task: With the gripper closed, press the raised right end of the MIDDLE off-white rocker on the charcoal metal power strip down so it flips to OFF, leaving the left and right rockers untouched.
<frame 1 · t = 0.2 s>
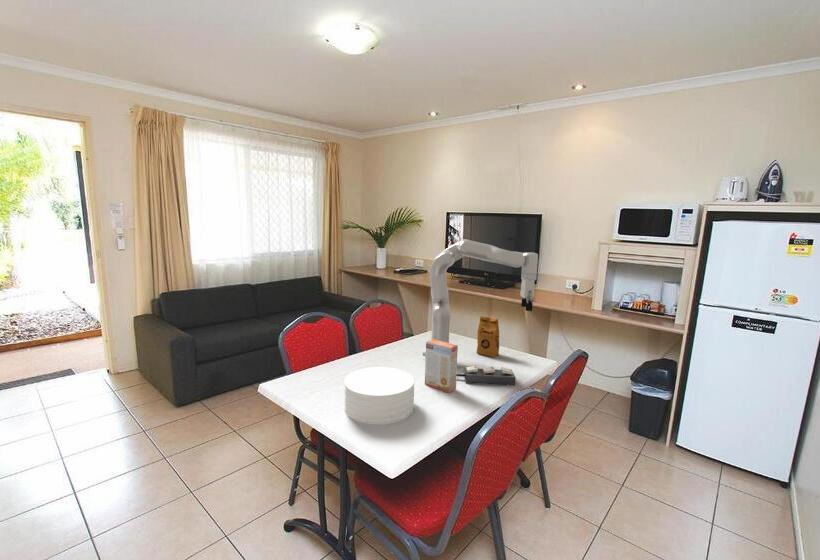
hand: (526, 308, 202), 31 cm above the table, fingers open, 9 cm apart
rocker right: (507, 370, 184), point 5 cm above the table, hinge at 12.0°, touching power strip
power strip: (488, 380, 185), on the table
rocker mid: (488, 369, 184), point 5 cm above the table, hinge at -12.0°, touching power strip
coffee package: (487, 354, 222), on the table
cracker box: (440, 387, 177), on the table
plate stack: (379, 407, 156), on the table
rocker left: (472, 368, 185), point 5 cm above the table, hinge at -12.0°, touching power strip
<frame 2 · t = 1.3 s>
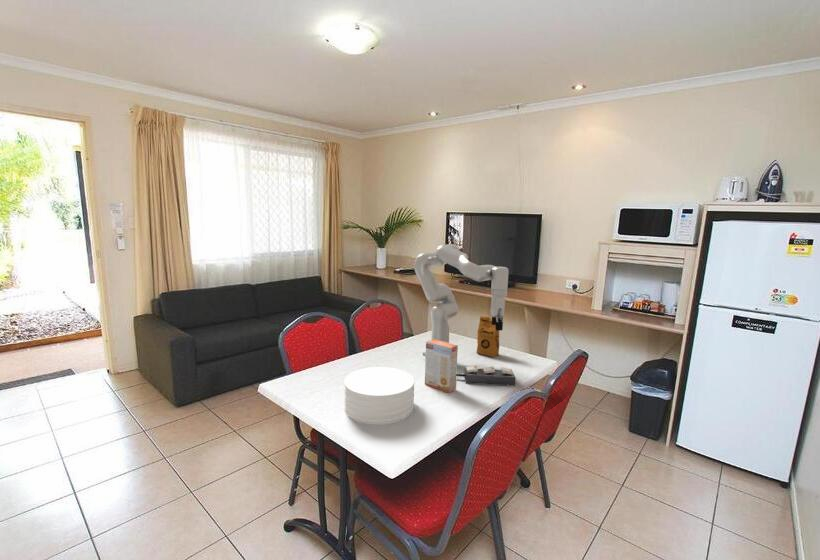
hand: (496, 327, 186), 25 cm above the table, fingers open, 9 cm apart
nothing on the table moved.
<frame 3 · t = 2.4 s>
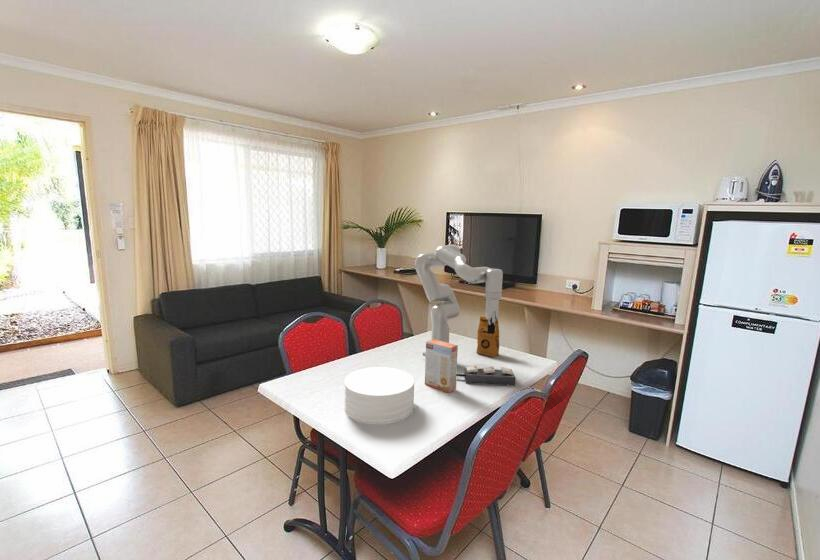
hand: (491, 332, 184), 23 cm above the table, fingers closed
nothing on the table moved.
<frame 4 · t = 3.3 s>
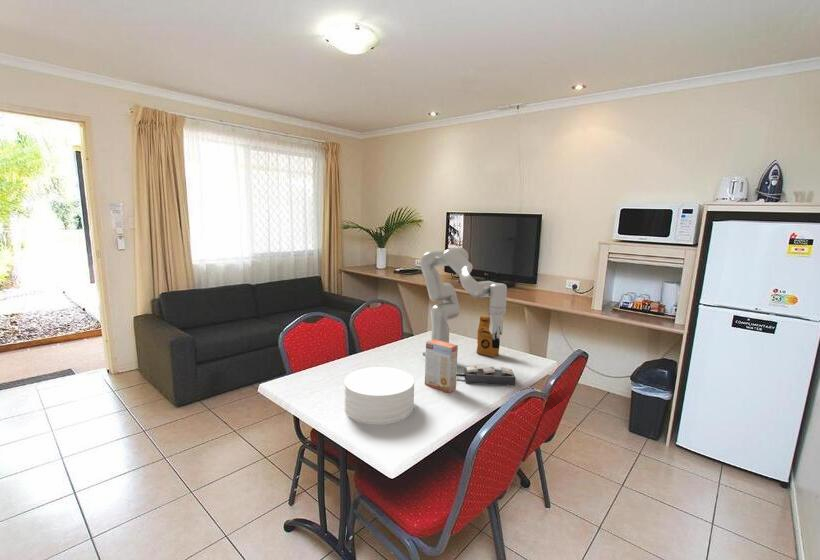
hand: (495, 347, 182), 17 cm above the table, fingers closed
nothing on the table moved.
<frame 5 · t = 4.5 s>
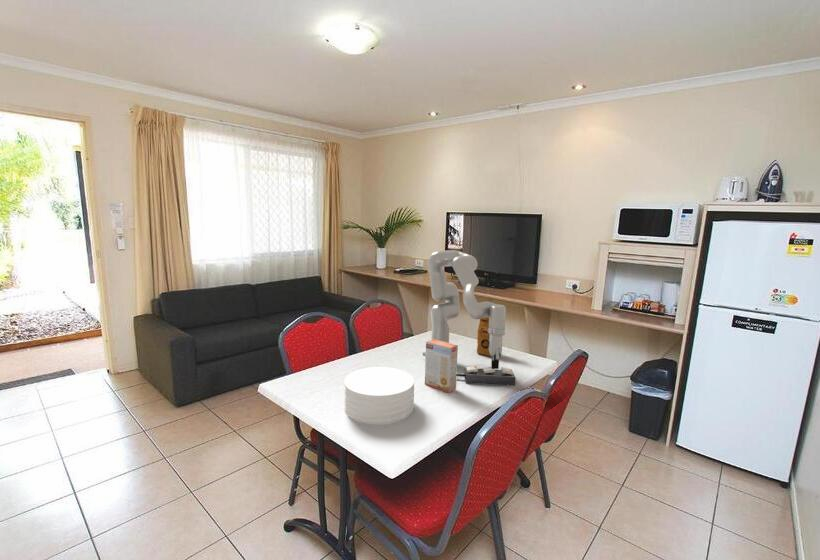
hand: (494, 368, 184), 6 cm above the table, fingers closed
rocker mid: (488, 369, 184), point 5 cm above the table, hinge at -11.6°, touching gripper, power strip
everything else where it was.
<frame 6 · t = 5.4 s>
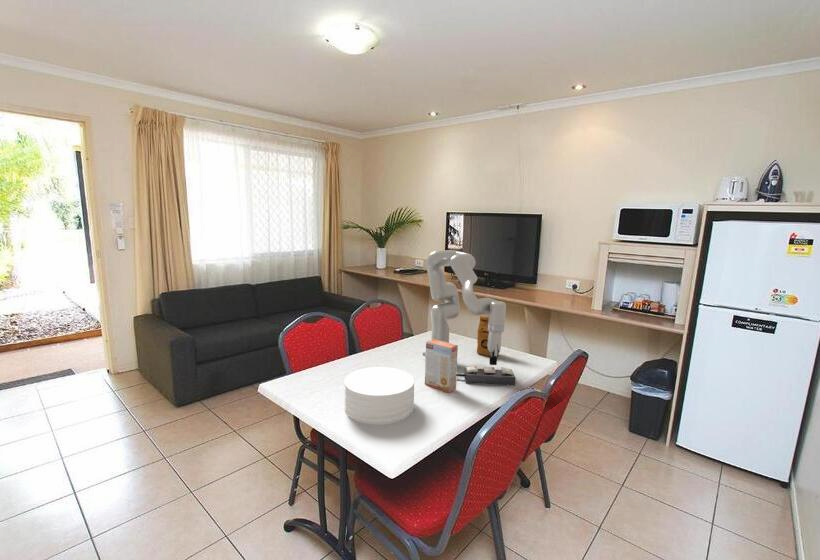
hand: (492, 364, 184), 8 cm above the table, fingers closed
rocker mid: (489, 369, 184), point 5 cm above the table, hinge at -3.0°, touching power strip
everything else where it was.
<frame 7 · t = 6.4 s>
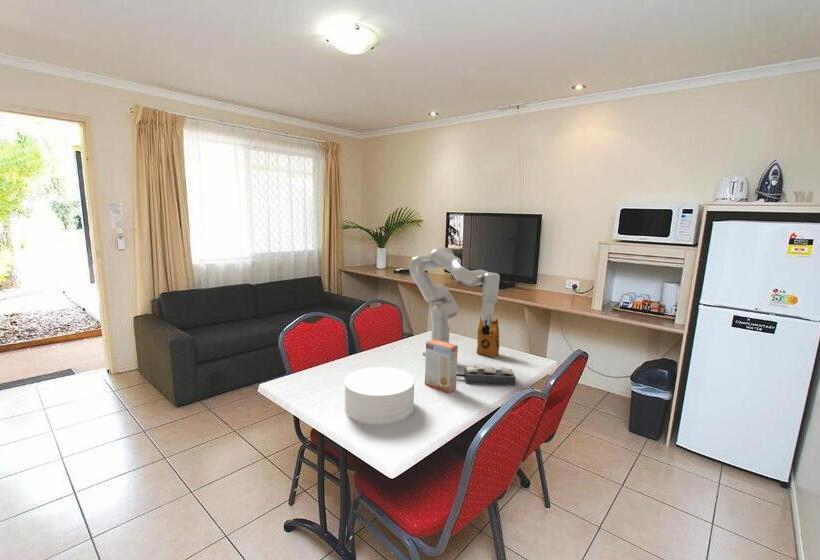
hand: (485, 334, 190), 21 cm above the table, fingers closed
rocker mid: (489, 369, 184), point 5 cm above the table, hinge at 4.4°, touching power strip
everything else where it was.
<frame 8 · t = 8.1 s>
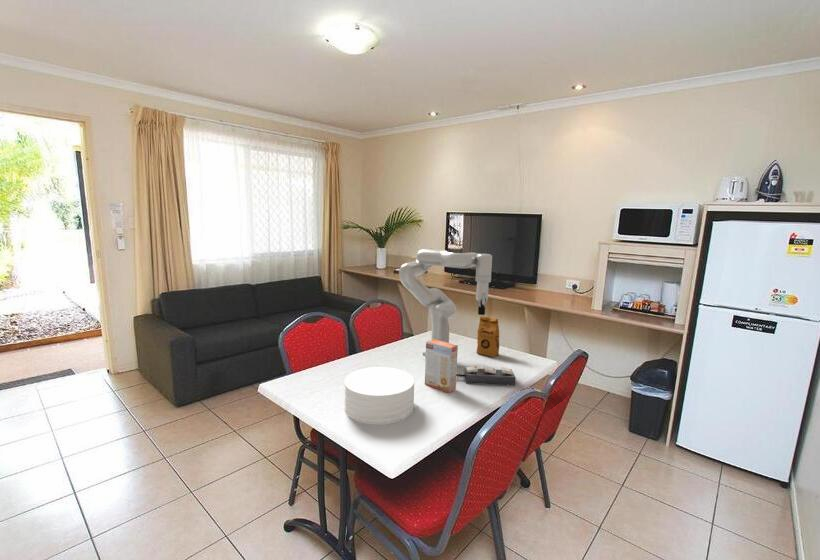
hand: (481, 314, 195), 29 cm above the table, fingers closed
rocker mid: (490, 369, 184), point 5 cm above the table, hinge at 10.6°, touching power strip
everything else where it was.
at the end: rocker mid at +11° (first picture: -12°); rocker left at -12° (first picture: -12°); rocker right at +12° (first picture: +12°) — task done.
